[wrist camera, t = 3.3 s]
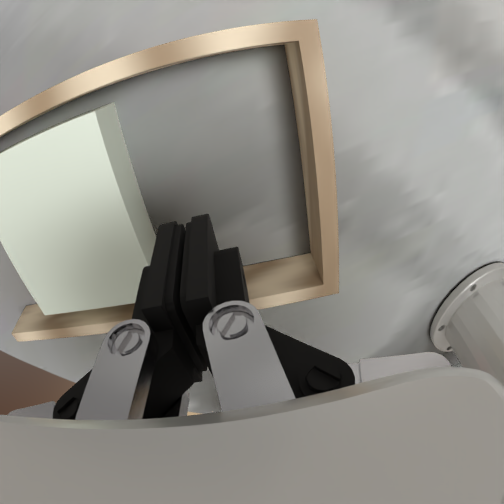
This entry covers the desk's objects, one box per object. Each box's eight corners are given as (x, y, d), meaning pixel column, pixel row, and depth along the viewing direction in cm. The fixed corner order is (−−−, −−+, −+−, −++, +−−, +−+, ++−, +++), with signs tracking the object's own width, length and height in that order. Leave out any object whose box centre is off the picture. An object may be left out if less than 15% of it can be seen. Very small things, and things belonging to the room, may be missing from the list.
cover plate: (116, 101, 16) (94, 111, 13) (168, 265, 22) (162, 298, 20) (-2, 152, 16) (-31, 171, 13) (59, 285, 23) (44, 315, 20)
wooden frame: (299, 26, 14) (317, 19, 11) (324, 261, 23) (338, 293, 20) (-50, 156, 14) (-78, 175, 12) (31, 313, 24) (17, 341, 21)
